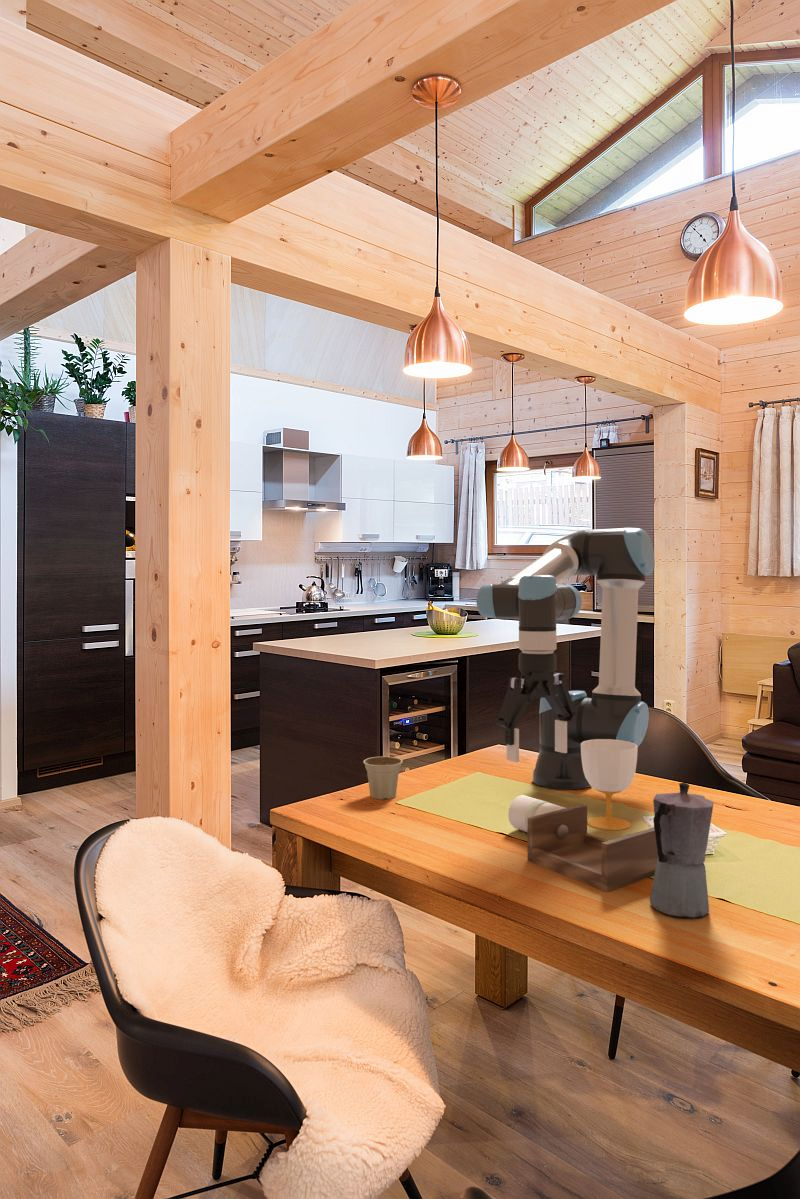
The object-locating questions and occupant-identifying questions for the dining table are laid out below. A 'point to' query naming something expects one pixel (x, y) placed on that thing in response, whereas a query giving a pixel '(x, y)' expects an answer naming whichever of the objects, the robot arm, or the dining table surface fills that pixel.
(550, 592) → the robot arm
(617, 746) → the cup
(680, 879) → the moka pot
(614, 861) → the holder
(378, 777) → the flower pot
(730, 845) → the dining table surface
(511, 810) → the roll
